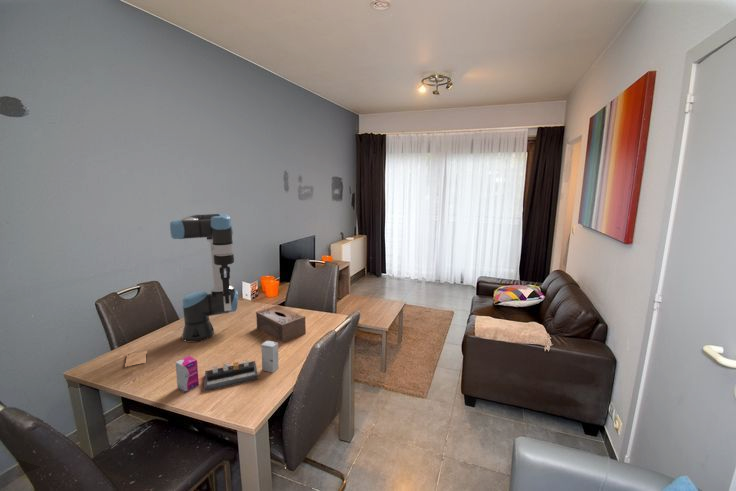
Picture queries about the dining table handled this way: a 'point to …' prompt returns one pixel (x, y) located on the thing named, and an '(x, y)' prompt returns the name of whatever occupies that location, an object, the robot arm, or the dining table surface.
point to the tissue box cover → (281, 323)
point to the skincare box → (270, 356)
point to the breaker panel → (230, 375)
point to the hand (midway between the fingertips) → (227, 308)
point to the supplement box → (187, 373)
